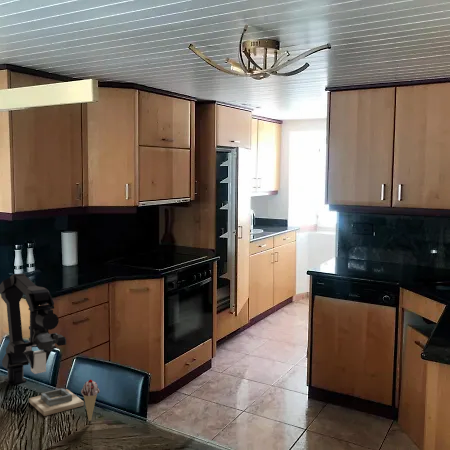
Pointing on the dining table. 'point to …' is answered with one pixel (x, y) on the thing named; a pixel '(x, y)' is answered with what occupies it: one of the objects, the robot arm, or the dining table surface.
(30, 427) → the dining table surface
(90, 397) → the ice cream cone
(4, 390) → the dining table surface
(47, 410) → the socket holder
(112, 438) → the dining table surface
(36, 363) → the connector plug
